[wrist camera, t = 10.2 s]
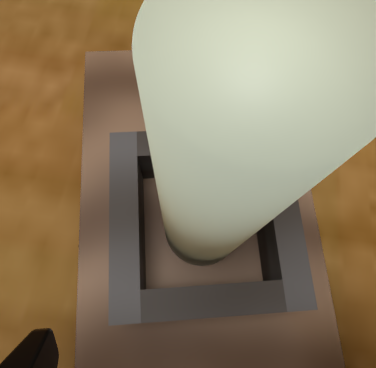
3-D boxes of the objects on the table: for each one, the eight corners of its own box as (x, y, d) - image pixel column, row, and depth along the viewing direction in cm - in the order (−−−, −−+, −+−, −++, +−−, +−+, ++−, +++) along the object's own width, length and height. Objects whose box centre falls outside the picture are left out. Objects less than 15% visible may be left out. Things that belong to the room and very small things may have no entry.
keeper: (349, 467, 15) (419, 535, 11) (80, 496, 14) (40, 580, 10) (276, 62, 22) (300, 6, 18) (91, 67, 21) (70, 11, 17)
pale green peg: (204, 282, 16) (297, 235, 4) (150, 231, 17) (73, 46, 4) (251, 227, 17) (455, 40, 5) (198, 181, 18) (248, -90, 5)
